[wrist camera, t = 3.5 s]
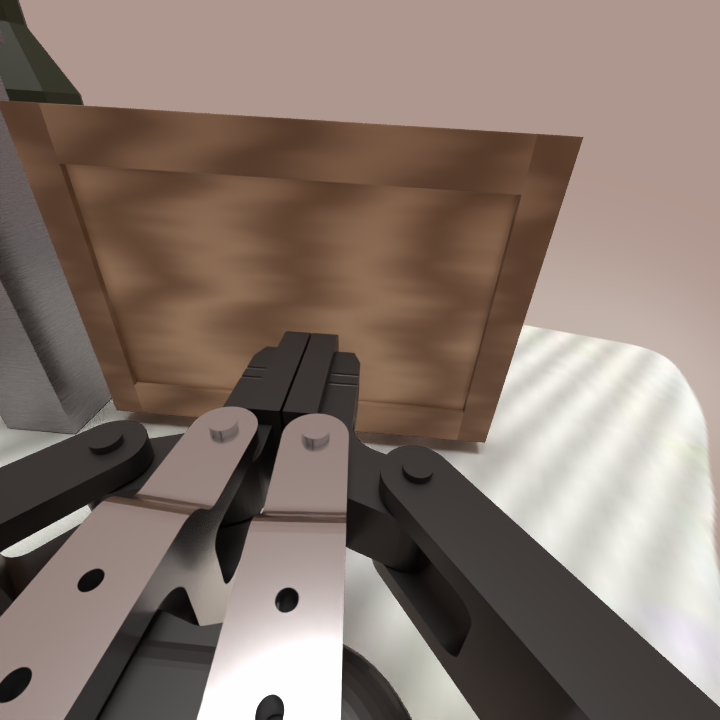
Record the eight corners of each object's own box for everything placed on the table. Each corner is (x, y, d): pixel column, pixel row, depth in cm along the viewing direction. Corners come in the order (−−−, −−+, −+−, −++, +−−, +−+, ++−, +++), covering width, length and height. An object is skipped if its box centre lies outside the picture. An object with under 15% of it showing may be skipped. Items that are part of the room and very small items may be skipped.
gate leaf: (116, 410, 22) (-4, 100, 14) (132, 393, 23) (31, 102, 15) (485, 442, 21) (583, 137, 13) (479, 423, 23) (565, 135, 15)
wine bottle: (147, 270, 44) (43, -125, 28) (118, 299, 37) (-43, -206, 21) (68, 270, 43) (-88, -143, 26) (23, 300, 36) (-225, -235, 20)
